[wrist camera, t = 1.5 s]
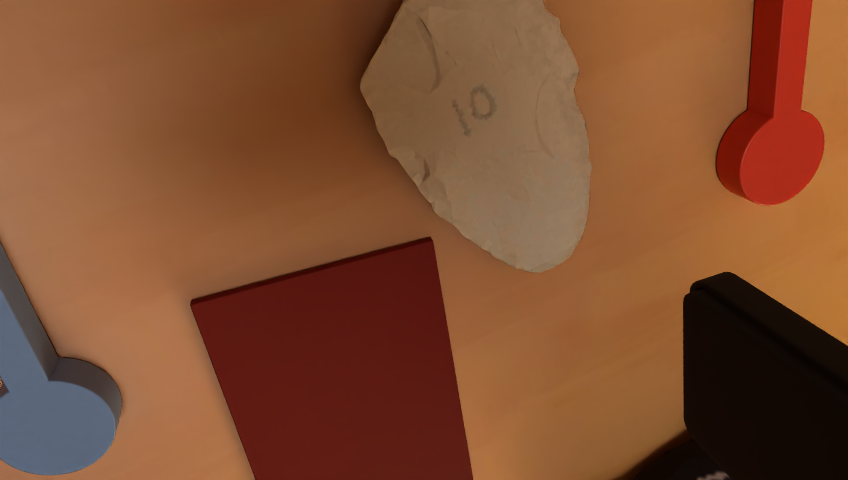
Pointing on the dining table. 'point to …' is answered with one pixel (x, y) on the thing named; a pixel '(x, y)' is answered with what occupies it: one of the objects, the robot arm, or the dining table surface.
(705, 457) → the speaker
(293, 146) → the dining table surface
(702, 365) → the robot arm
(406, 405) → the maroon mat
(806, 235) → the dining table surface
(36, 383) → the grey spoon
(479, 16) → the stone
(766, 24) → the red spoon
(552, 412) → the dining table surface
